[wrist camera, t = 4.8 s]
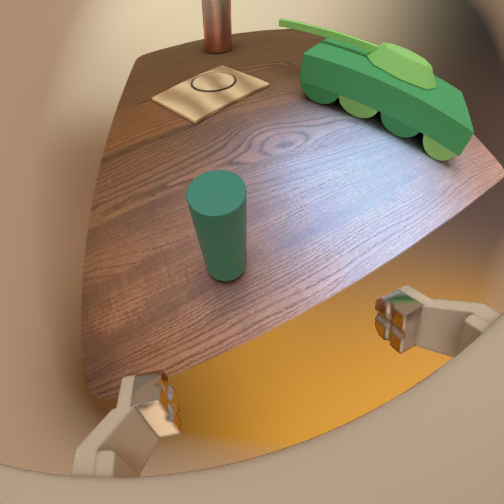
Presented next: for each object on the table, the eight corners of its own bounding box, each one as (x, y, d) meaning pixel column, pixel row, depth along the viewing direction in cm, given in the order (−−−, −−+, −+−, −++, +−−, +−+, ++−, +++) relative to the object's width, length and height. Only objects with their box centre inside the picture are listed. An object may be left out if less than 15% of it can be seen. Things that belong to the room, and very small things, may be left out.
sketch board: (195, 124, 36) (194, 120, 35) (152, 100, 39) (151, 97, 39) (269, 86, 41) (269, 82, 41) (222, 67, 45) (221, 64, 44)
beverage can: (203, 48, 51) (199, -7, 38) (228, 44, 52) (226, -9, 38) (208, 55, 48) (204, -4, 35) (234, 51, 49) (234, -7, 36)
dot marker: (226, 293, 25) (214, 227, 15) (199, 267, 26) (174, 193, 16) (254, 266, 26) (259, 190, 16) (227, 243, 27) (217, 161, 17)
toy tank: (298, 9, 38) (468, 77, 31) (293, 57, 49) (445, 122, 41) (256, 22, 30) (484, 114, 23) (254, 86, 41) (449, 170, 34)
